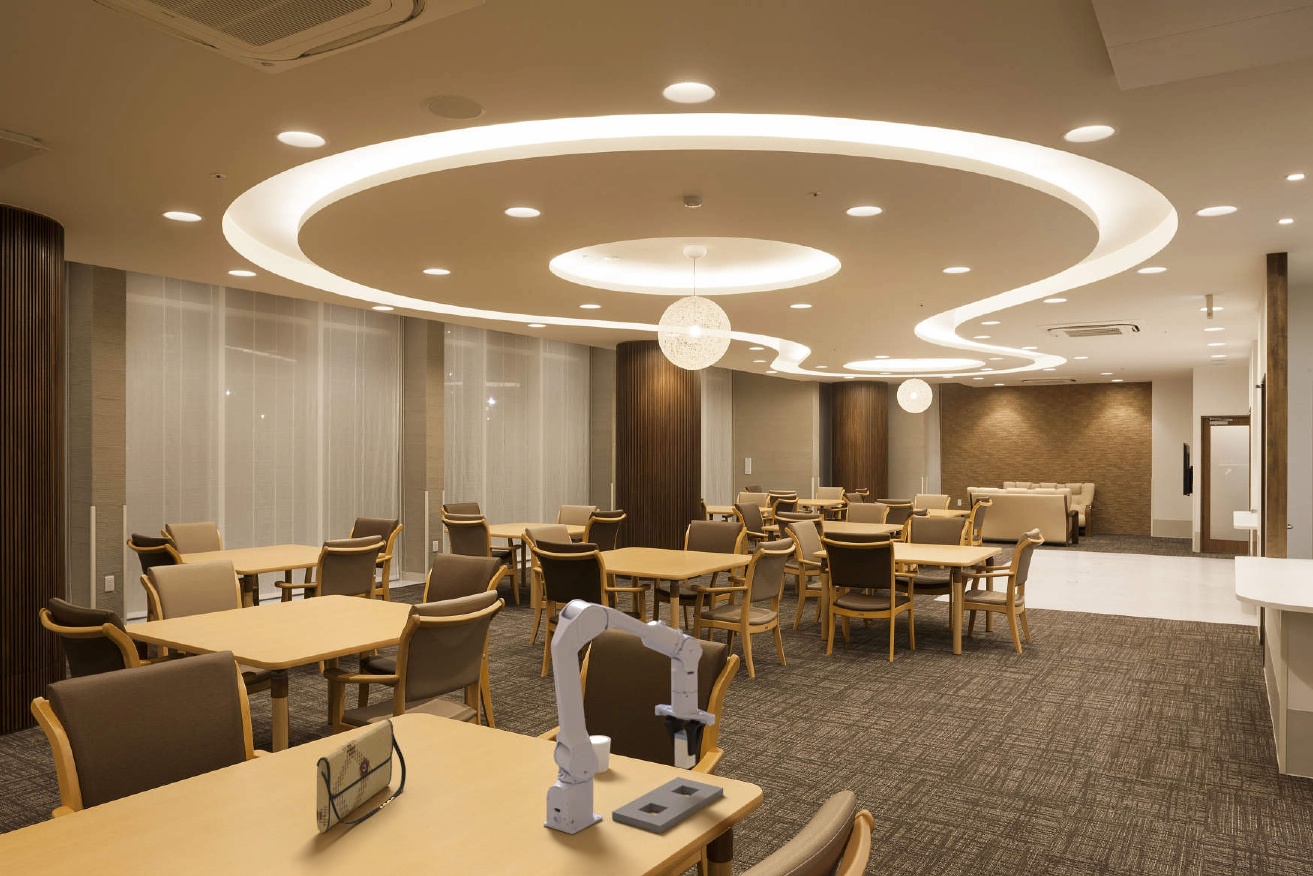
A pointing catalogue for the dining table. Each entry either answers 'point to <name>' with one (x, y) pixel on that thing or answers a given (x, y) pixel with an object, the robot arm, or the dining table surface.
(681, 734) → the plug
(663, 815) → the socket board
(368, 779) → the clutch purse
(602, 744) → the white round cup
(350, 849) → the dining table surface
